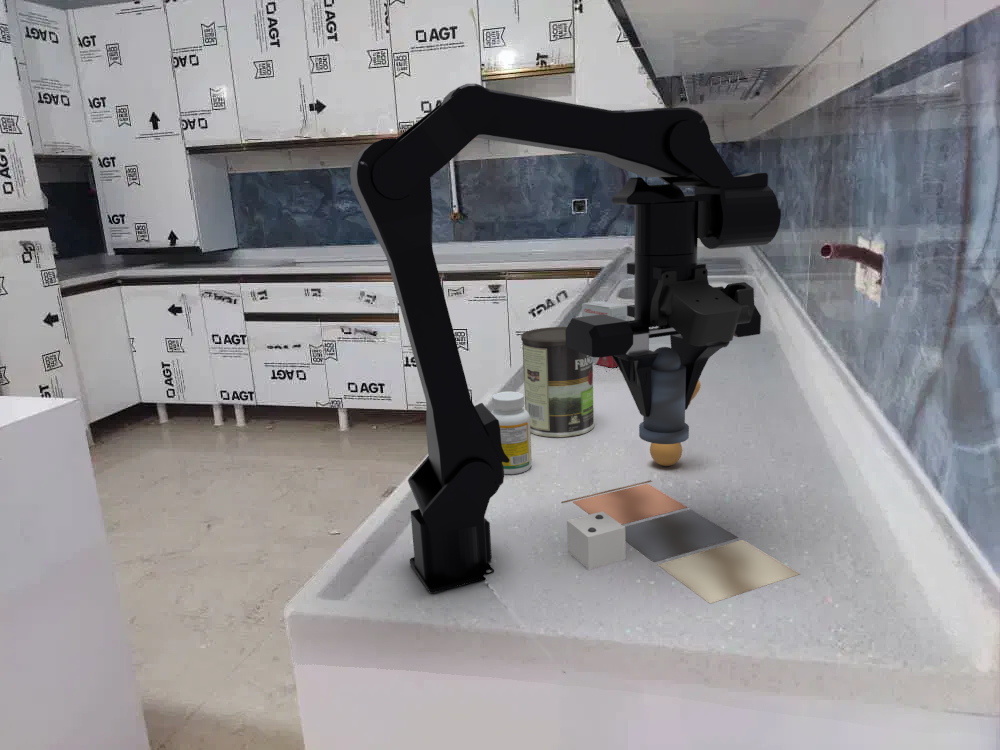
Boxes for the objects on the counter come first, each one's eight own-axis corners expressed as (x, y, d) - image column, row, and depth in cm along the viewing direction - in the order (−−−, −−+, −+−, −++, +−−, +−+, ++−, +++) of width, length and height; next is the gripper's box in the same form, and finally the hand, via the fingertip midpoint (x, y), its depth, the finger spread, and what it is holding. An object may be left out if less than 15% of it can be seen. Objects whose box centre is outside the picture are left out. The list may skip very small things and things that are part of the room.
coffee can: (603, 418, 113) (602, 327, 109) (581, 441, 104) (579, 342, 100) (540, 413, 117) (537, 325, 114) (513, 434, 108) (509, 339, 105)
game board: (706, 617, 62) (706, 611, 61) (561, 505, 84) (561, 500, 84) (815, 581, 66) (815, 575, 66) (650, 484, 88) (650, 479, 88)
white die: (589, 576, 69) (588, 534, 68) (568, 557, 73) (566, 517, 71) (625, 565, 70) (625, 524, 69) (603, 548, 74) (602, 508, 73)
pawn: (657, 447, 71) (658, 355, 68) (630, 432, 75) (630, 345, 73) (698, 438, 72) (701, 348, 70) (669, 425, 77) (671, 339, 74)
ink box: (630, 364, 144) (630, 304, 141) (611, 368, 141) (611, 307, 138) (600, 357, 151) (599, 299, 148) (582, 361, 148) (581, 302, 145)
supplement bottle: (523, 477, 92) (520, 403, 90) (483, 472, 94) (479, 400, 92) (537, 461, 97) (535, 391, 95) (499, 457, 99) (496, 388, 97)
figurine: (651, 452, 98) (652, 364, 95) (698, 454, 97) (700, 365, 94) (647, 476, 91) (647, 381, 88) (698, 479, 89) (700, 382, 86)
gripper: (625, 269, 59) (625, 455, 63) (808, 250, 65) (798, 419, 69) (560, 258, 69) (564, 419, 73) (725, 243, 75) (720, 391, 79)
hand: (663, 412), depth 73 cm, fingers closed on pawn, 4 cm apart
